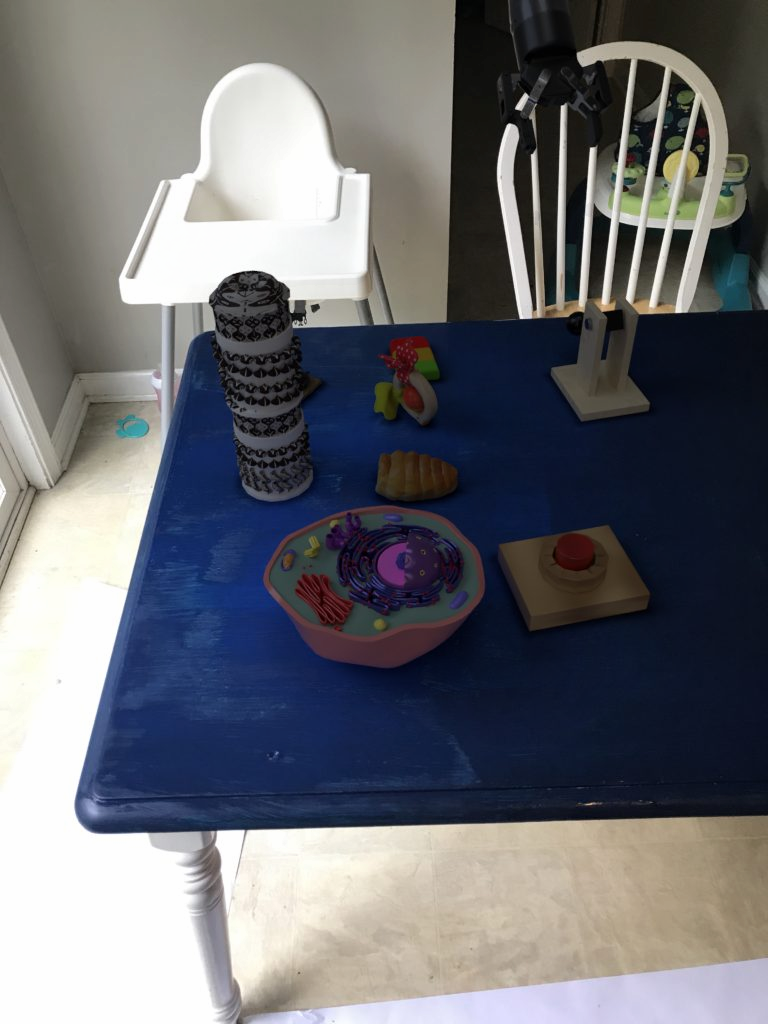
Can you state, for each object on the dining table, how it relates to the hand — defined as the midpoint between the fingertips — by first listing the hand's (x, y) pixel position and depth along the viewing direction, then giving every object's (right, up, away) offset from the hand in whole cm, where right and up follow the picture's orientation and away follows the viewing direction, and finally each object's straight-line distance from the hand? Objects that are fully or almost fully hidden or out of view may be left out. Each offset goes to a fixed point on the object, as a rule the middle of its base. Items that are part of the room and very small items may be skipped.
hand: (563, 148), depth 106 cm
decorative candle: (-36, -43, -8) cm, 56 cm away
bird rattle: (-20, -35, 0) cm, 40 cm away
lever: (+4, -24, 0) cm, 24 cm away
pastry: (-20, -44, -10) cm, 49 cm away
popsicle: (-19, -28, +7) cm, 34 cm away
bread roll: (-38, -30, +6) cm, 48 cm away
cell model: (-24, -58, -26) cm, 68 cm away
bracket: (+5, -31, +2) cm, 31 cm away
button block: (-4, -54, -22) cm, 59 cm away
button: (-4, -51, -25) cm, 57 cm away
